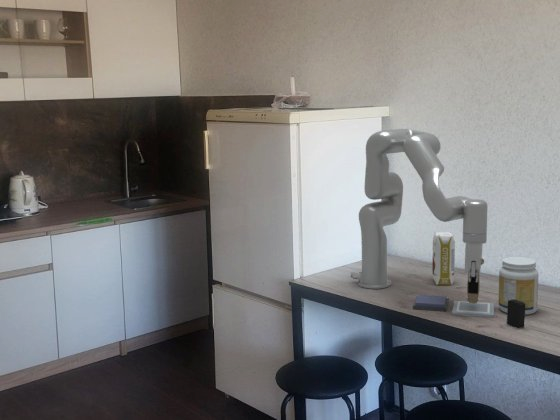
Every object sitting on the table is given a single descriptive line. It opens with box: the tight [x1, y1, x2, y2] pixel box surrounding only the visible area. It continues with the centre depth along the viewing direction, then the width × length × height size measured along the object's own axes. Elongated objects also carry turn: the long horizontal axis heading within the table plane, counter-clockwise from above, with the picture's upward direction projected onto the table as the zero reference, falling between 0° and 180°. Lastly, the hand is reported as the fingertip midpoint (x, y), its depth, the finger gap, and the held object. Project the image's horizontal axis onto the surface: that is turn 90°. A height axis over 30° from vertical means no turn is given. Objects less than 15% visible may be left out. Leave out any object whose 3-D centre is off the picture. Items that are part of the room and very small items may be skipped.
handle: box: [466, 258, 485, 303], centre depth 223 cm, size 5×6×15 cm
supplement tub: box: [498, 256, 540, 316], centre depth 221 cm, size 12×12×17 cm
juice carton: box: [431, 231, 456, 286], centre depth 255 cm, size 8×9×19 cm
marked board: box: [451, 300, 495, 318], centre depth 224 cm, size 13×13×1 cm
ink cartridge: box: [506, 299, 526, 330], centre depth 207 cm, size 5×2×8 cm, turn 29°
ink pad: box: [412, 294, 450, 312], centre depth 230 cm, size 11×11×2 cm
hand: (473, 290), depth 223 cm, fingers closed on handle, 4 cm apart
